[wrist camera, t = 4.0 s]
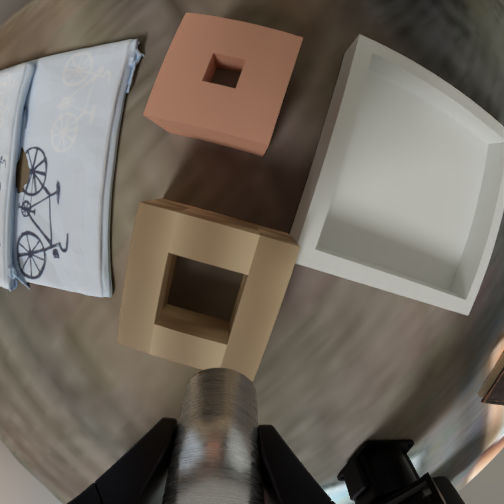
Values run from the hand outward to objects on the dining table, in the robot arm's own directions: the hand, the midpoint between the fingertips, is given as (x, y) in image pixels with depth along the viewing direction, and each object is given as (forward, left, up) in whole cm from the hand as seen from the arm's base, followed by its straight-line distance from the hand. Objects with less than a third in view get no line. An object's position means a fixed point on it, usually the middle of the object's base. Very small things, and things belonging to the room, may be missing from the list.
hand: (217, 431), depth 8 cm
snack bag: (+19, -4, -13) cm, 23 cm away
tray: (-9, -11, -12) cm, 18 cm away
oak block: (+2, -1, -12) cm, 12 cm away
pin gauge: (0, 0, -2) cm, 2 cm away
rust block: (+4, -12, -12) cm, 17 cm away
